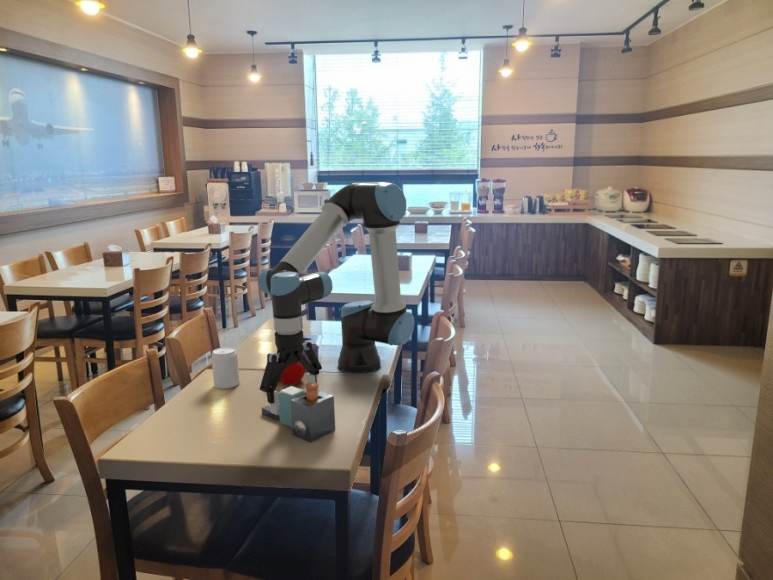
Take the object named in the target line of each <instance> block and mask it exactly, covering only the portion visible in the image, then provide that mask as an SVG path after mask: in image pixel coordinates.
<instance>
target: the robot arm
mask: <svg viewBox="0 0 773 580" xmlns="http://www.w3.org/2000/svg"><path fill="white" fill-rule="evenodd" d="M406 210H407V199H406V197H405V193H404V192H403V190H402V189H401V188H400V187H399V185H398V184H395V183H391V182H385V181H379V182H376V181H375V182H374V181H373V182H371V181H370V182H359V181H358V182H353V183H349V184H347V185H346V186H344V187H342V188H340V189H339V190H337V191H336V192H335V193H334V194H332V196H331V197H329V198H328V199H327V200H326V201H325V203H323V205H322V207H321V212H320V213H319V215H318V216H317V217H316V219H314V221H313V222H312V223H311V224H310V226H309V227H308V228H307V229H306V230H305V231H304V232H303V234H302V235H301V236H300V237H299V238H298V240H297V241H296V242H295V243H294V245H292V247H291V248H290V249H289V251H288V252H286V254H285V255H284V257H283V256H282V257H283V258H281V259H280V261H279V262H278V264H277V265H276V266H275V267H274V268H266V269H264V270H262V271H261V272H260V274H259V276H258V279H257V283H258V287H259V289H260V292H262V293H264V294H265V295H266V294H267V295H270V296H271V304H272V305H271V306H272V318H273V330H274V331H275V332H274V344H275V346H276V347H275V348H276V349H277V350H276V353H267V355H266V361H267V362H266V365H265V367H264V368H265V369H264V372H263V374H262V375H263V376H262V378H261V383H260V386H259V390H260V391H261V392H264V393H266V398H267V403H268V404H269V406H270V412H271V413H273V414H276V415H278V414H279V402H278V393H279V391H278V390H276V389H277V387H278V385H279V383H280V382H279V381H280V379H281V377H282V375H283V372H284V370H285V369H287V367H288V366H290V365H292V364H294V363H298V362H299V363H300V364H301V365H302V366H303V367H304V368H305V371H307V372H308V373H306V384H308V383H317V384H318V378H317V376H319V374H320V371H321V370H322V369H323V367H322V364H321V363H320V361H319V359H318V357H317V355H316V353H315V350H313V343H312V342H311V341H308V340H304V331H303V329H304V324H303V314H302V313H303V311H302V309H303V307H302V306H304V305H306V304H307V305H308V304H309V303H313V302H315V301H318V300H319V301H320V300H323V299H324V298H327V297H329V296H330V295H331V293H332V291H333V281H332V278H331V276H330V275H329V274H328V273H327V272H325V271H314V272H312V273H306V271H307V270H308V269H309V267H310V266H311V265H312V263H313V262H314V261H315V260H316V258H317V257H319V255H320V253H321V252H322V251H323V250H324V248H325V247H326V246H327V244H328V243H329V242H330V241H331V240H332V239H333V237H334V236H335V235H336V233H337V232H338V231H339V230H340V229H341V228H345V227H346V226H347V225H348V224H349V223H350V222H351V221H354V220H357V219H358V220H362V225H363V228H364V229H365V230H366V231H368V236H369V237H368V239H369V247H370V258H371V268H372V269H371V270H372V279H373V280H372V281H373V291H374V301H375V302H374V301H372V300H357V301H352V302H348V303H345V304H344V305H343V306H342V307H341V312H340V313H341V315H340V321H341V322H340V323H341V340H342V341H341V342H342V343H341V344H342V345H341V349H340V353H339V356H338V359H337V364H338V365H337V366H338V368H339V369H340V370H341V371H343V372H347V371H348V373H356V372H359V373H368V372H372V371H375V370H377V369H379V368H380V367H381V363H382V362H381V357H380V355H379V353H378V349H377V345H376V343H380V344H381V343H382V344H385V345H390V346H397V347H398V346H403V345H405V344H406V343H408V341H409V340H410V338H411V336H412V335H413V332H414V329H415V316H414V315H413V314H412V313H411V312H410V311H407V303H406V302H405V301H404V300H403V299H402V296H401V295H402V294H401V284H400V282H401V280H400V271H399V270H400V269H399V257H398V242H397V231H396V230H397V229H398V227H399V226H400V225H401V223H400V221H401V220H402V219H403V218H404V216H405V214H406ZM303 351H304V353H305V355H306V356H304V355H303ZM306 357H307V358H306ZM307 359H308V360H307ZM281 362H282V363H283V364H284V365H282V364H281Z"/></svg>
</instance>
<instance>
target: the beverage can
mask: <svg viewBox="0 0 773 580" xmlns="http://www.w3.org/2000/svg"><path fill="white" fill-rule="evenodd" d="M238 358H239V357H238V352H237V350H236V348H235V347H231V346H224V347H218V348H215V349H213V350H212V353H211V364H212V365H211V366H212V376H213V378H212V379H213V385H214V387H215V388H216V389H217V388H218V389H221V390H227V389H232V388H235V387H236V386H238V385H239V384H240V382H241V381H240V371H239V359H238Z"/></svg>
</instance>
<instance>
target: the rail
mask: <svg viewBox="0 0 773 580" xmlns="http://www.w3.org/2000/svg"><path fill="white" fill-rule="evenodd" d="M261 415H263V416H265V417H268V418H270V419H273V420H276V421H277V422H279V423H280V417H279V414H278V415H276V414H273V413H271V412H270V404H268V405H265V406H263V407H261Z"/></svg>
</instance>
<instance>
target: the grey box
mask: <svg viewBox="0 0 773 580" xmlns="http://www.w3.org/2000/svg"><path fill="white" fill-rule="evenodd" d="M335 411H336V410H335V396H334V394H330V393H328V392H324V391H322V390H319V389H318V400H316V401H314V402H310V401H307V394H304V395H302V396H299V397H297V398H295V399H292V400H291V415H292V427H291V429H292V430H291V431H292V436H294V437H296V438H297V439H298V438H299V439H301V440H303V441H305V442H307V443H310V444H312V443H314V442H316V441H317V440H319V439H322V438H323V437H325V436H327V435H328V434H331V433H333V432H334V431H336V416H335V413H336V412H335Z"/></svg>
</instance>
